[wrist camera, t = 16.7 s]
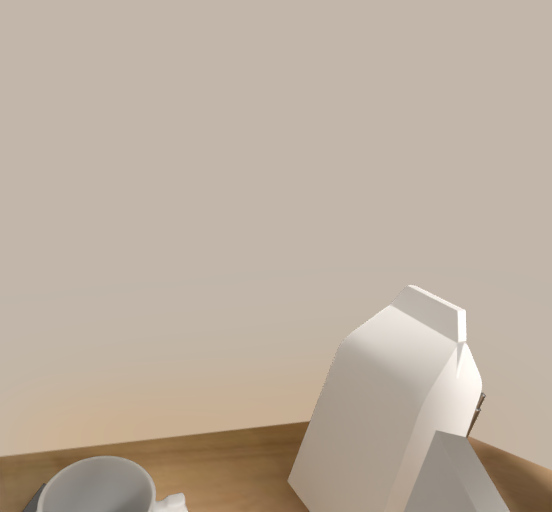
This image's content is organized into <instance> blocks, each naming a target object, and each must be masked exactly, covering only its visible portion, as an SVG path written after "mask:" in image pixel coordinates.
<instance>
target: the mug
mask: <svg viewBox="0 0 552 512" xmlns="http://www.w3.org/2000/svg"><path fill="white" fill-rule="evenodd" d="M155 499H156V488H155V484H154V482H153V480H152V478H151V476H150V475H149V473H148V472H147V471H146V470H145V469H144V468H143V467H141V466H140V465H138V464H137V463H135V462H133V461H131V460H128V459H125V458H122V457H116V456H96V457H91V458H86V459H83V460H80V461H77V462H75V463H73V464H71V465H69V466H67V467H65V468H64V469H62V470H61V471H59V472H58V473H57V474H56V475H55V476H54V477H52V478H51V480H50V481H49V482H48V483H47V484H46V486H45V487H44V489H43V491H42V493H41V495H40V497H39V500H38V506H37V512H188V510H187V507H186V505H185V497H184V494H183V493H177V494H173V495H169V496H167V497H166V498H165V499H163V500H161V501H155Z"/></svg>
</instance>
